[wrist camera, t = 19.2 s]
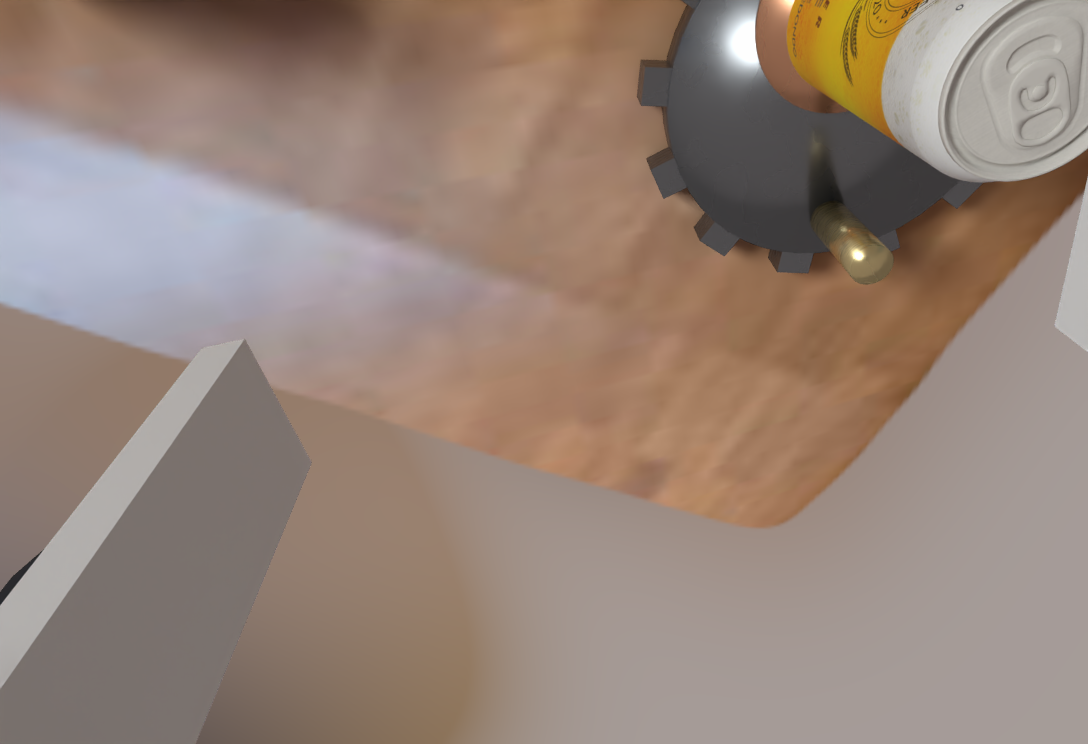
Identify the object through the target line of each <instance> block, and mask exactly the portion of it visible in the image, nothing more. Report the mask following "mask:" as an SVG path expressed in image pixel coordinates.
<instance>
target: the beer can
mask: <svg viewBox="0 0 1088 744" xmlns="http://www.w3.org/2000/svg"><path fill="white" fill-rule="evenodd" d="M786 38H787V48H788V53H789V57H790V60H791V62H792V64H793V66H794V68H795V70H796V71H797V73H798V74H799V75H800V76H801V78H802V79H804V80H805V81H806V82H807V83H808V84H810V85H811V86H813V87H814V88H816V89H817V90H819V91H820V92H822V93H823V94H825V95H826V96H828V97H829V98H831V99H832V100H834V101H835V102H837V103H838V104H840V105H841V106H843V107H844V108H846V109H847V110H849V111H850V112H852V113H853V114H855V115H856V116H858V117H859V118H861V119H862V120H864V121H865V122H867V123H868V124H870V125H871V126H873V127H874V128H876V129H877V130H879V131H880V132H882V133H883V134H885V135H886V136H888V137H889V138H891V139H892V140H894V141H895V142H897V143H898V144H900V145H901V146H903V147H904V148H906V149H907V150H909V151H910V152H912V153H913V154H915V155H916V156H918V157H919V158H921V159H922V160H924V161H925V162H927V163H928V164H930V165H931V166H933V167H934V168H936V169H937V170H939V171H940V172H942V173H943V174H946V175H948V176H950V177H952V178H955V179H959V180H963V181H968V182H995V181H1005V182H1007V181H1019V180H1025V179H1029V178H1033V177H1037V176H1040V175H1042V174H1045V173H1048V172H1050V171H1052V170H1055V169H1057V168H1059V167H1061V166H1063V165H1064V164H1066V163H1068V162H1070V161H1071V160H1073V159H1074V158H1076V157H1077V156H1079V155H1080V154H1082V153H1083V152H1084V151H1086V150H1087V149H1088V0H794V3H793V5H792V8H791V11H790V15H789V18H788V24H787V34H786Z"/></svg>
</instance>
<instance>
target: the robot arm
mask: <svg viewBox="0 0 1088 744" xmlns="http://www.w3.org/2000/svg"><path fill="white" fill-rule="evenodd" d="M1055 327H1056V328H1057V329H1059V330H1060V331H1061V332H1062V333H1064V334H1065V335H1066V336H1068V337H1069V338H1070V339H1072V340H1073V341H1074V342H1075V343H1077V344H1078V345H1079V346H1081V347H1082V348H1083V349H1084V350H1086V351H1087V352H1088V178H1087V183H1086V187H1085V192H1084V196H1083V201H1082V206H1081V210H1080V214H1079V218H1078V223H1077V227H1076V232H1075V236H1074V241H1073V245H1072V250H1071V255H1070V259H1069V263H1068V268H1067V272H1066V277H1065V281H1064V286H1063V290H1062V295H1061V299H1060V303H1059V308H1058V312H1057V317H1056V321H1055ZM311 463H312V462H311V460H310V458H309V457H308V455H307V453H306V451H305V449H304V447H303V445H302V443H301V442H300V440H299V438H298V436H297V434H296V433H295V431H294V429H293V427H292V425H291V423H290V422H289V420H288V418H287V416H286V414H285V412H284V410H283V409H282V407H281V405H280V403H279V401H278V399H277V398H276V396H275V394H274V392H273V390H272V388H271V386H270V385H269V383H268V381H267V379H266V377H265V375H264V374H263V372H262V370H261V368H260V366H259V364H258V362H257V361H256V359H255V357H254V355H253V353H252V351H251V350H250V348H249V346H248V344H247V342H246V340H245V339H243V340H238V341H233V342H228V343H223V344H218V345H214V346H209V347H204V348H202V349H201V350H200V351H199V353H198V354H197V355H196V356H195V358H194V359H193V360H192V361H191V363H190V364H189V365H188V367H187V368H186V369H185V370H184V372H183V373H182V374H181V375H180V377H179V378H178V379H177V381H176V382H175V383H174V384H173V386H172V387H171V388H170V390H169V391H168V392H167V393H166V395H165V396H164V397H163V399H162V400H161V401H160V402H159V404H158V405H157V406H156V407H155V409H154V410H153V411H152V412H151V414H150V415H149V416H148V418H147V419H146V420H145V422H144V423H143V424H142V425H141V426H140V428H139V429H138V430H137V432H136V433H135V434H134V436H133V437H132V438H131V439H130V441H129V442H128V443H127V444H126V446H125V447H124V448H123V450H122V451H121V452H120V453H119V455H118V456H117V457H116V459H115V460H114V461H113V462H112V464H111V465H110V466H109V468H108V469H107V470H106V471H105V472H104V474H103V475H102V476H101V478H100V479H99V480H98V481H97V483H96V484H95V485H94V486H93V488H92V489H91V490H90V492H89V493H88V494H87V495H86V497H85V498H84V499H83V500H82V502H81V503H80V505H79V506H78V507H77V508H76V509H75V511H74V512H73V513H72V514H71V516H70V517H69V518H68V520H67V521H66V522H65V524H64V525H63V526H62V527H61V529H60V530H59V531H58V532H57V534H56V535H55V536H54V538H53V539H52V540H51V541H50V543H49V544H48V545H47V547H46V548H45V549H44V550H43V551H41V552H40V553H39V554H38V555H37V556H36V557H34V558H33V559H32V560H31V561H30V562H29V563H28V564H27V565H25V566H24V567H23V568H22V569H21V570H19V571H18V572H17V573H16V574H15V575H14V576H13V577H12V578H11V579H10V580H9V582H8V583H7V584H6V585H5V587H4V588H3V589H2V590H1V592H0V744H196V741H197V739H198V736H199V734H200V731H201V729H202V727H203V724H204V722H205V719H206V717H207V714H208V712H209V710H210V707H211V705H212V703H213V700H214V697H215V695H216V693H217V690H218V688H219V685H220V683H221V681H222V678H223V676H224V674H225V671H226V669H227V666H228V664H229V661H230V659H231V657H232V654H233V652H234V649H235V647H236V645H237V642H238V639H239V637H240V635H241V632H242V630H243V627H244V625H245V623H246V620H247V618H248V615H249V613H250V611H251V608H252V606H253V604H254V601H255V599H256V596H257V594H258V591H259V589H260V586H261V584H262V582H263V579H264V577H265V575H266V572H267V570H268V567H269V565H270V562H271V560H272V557H273V555H274V553H275V550H276V548H277V545H278V543H279V541H280V538H281V536H282V533H283V531H284V528H285V526H286V524H287V521H288V519H289V517H290V514H291V512H292V509H293V507H294V504H295V502H296V500H297V497H298V495H299V492H300V490H301V488H302V485H303V483H304V480H305V478H306V475H307V473H308V471H309V468H310V466H311Z"/></svg>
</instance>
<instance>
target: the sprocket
mask: <svg viewBox="0 0 1088 744" xmlns="http://www.w3.org/2000/svg"><path fill="white" fill-rule="evenodd" d="M681 1H683V2H684V3H685V4H687V6H686V8H685V10H684V12H683V14H682V16H681V19H680V21H679V23H678V26H677V28H676V30H675V33H674V36H673V39H672V42H671V46H670V49H669V52H668V55H667V61H660V60H641V62H640V72H639V82H638V91H637V98H638V100H639V102H640V104H641V106H662V111H663V124H664V129H665V134H666V139H667V143H668V146H669V147H668V148H666V149H664V150H662V151H660V152H658V153H656V154H654V155H652V156H650V157H648V158H646V159H647V162H648V164H649V167H650V170H651V172H652V174H653V176H654V178H655V181H656V183H657V185H658V187H659V190H660V192H661V194H662V196H663V198H666V197H668V196H670V195H672V194H675V193H677V192H679V191H681V190H683V189H685V188H688V190H689V192H690V193H691V195H692V196H693V198H694V199H695V200H696V202H697V203H698V205H699V206H700V207H701V208H702V209H703V210H704V211H705V213H704V215H703V216H702V217H701V219H700V220H699V221H698V222H697V224H696V225H695V226H694V229H695V231H696V233H697V236H698V238H699V240H700V241H701V242H703V243H704V244H706V245H707V246H709V247H710V248H712V249H714V250H715V251H717V252H718V253H720V254H721V255H723V256H725V255H726V254H727V253H728V252H729V250H730V249H731V248H732V247H733V246H734V245H735V243H736V242H737V241H738V240H739V239H742V240H744V241H746V242H749V243H752V244H754V245H757V246H760V247H763V248H767V249H770V252H769V256H768V258H769V260H770V261H771V263H772V265H773V266H774V268H775V269H776V271H777V272H788V273H808V272H809V268H810V265H811V261H812V257H813V254H814V253H821V252H828V251H830V252H831V253H832V254H833V255H834V256H835V258H836V259H837V260H838V261H839V263H840V264H841V265H842V266H843V267H844V269H845V270H846V271H847V272H848V273H849V275H850V276H851V277H852V278H853V279H854V280H855V281H856V282H858V283H860V284H873V283H876V282H878V281H880V280H882V279H883V278H885V277H886V276H887V275H888V274H889V272H890V271H891V269H892V267H893V263H894V258H893V254H892V253H891V251H893V250H896V249H898V248H900V245H899V241H898V237H897V234H896V230H895V229H897V228H899V227H901V226H903V225H904V224H906V223H907V222H909V221H911V220H912V219H914V218H915V217H917V216H919V215H920V214H921V213H923V212H924V211H925V210H927V209H928V208H929V207H931V206H932V205H933V204H935V203H936V202H937V201H938V200H940V199H941V198H943V199H944V200H945V201H947V202H948V203H950V204H951V205H952V206H954V207H955V208H956V209H957V208H958V207H959V206H960V205H961V204H962V203H963V202H964V201H965V200H966V199H967V198H968V197H969V196H970V195H971V194H972V193H973V192H974V191H975V190H976V189H977V188H978V187H979V186H980V185H981V184H982V183H983V182H968V181H963V180H959V179H955V178H952V177H950V176H948V175H946V174H943V173H942V172H940V171H939V170H937V169H936V168H934V167H933V166H931V165H930V164H928V163H927V162H925V161H924V160H922V159H921V158H919V157H918V156H916V155H915V154H913V153H912V152H910V151H909V150H907V149H906V148H904V147H903V146H901V145H900V144H898V143H897V142H895V141H894V140H892V139H891V138H889V137H888V136H886V135H885V134H883V133H882V132H880V131H879V130H877V129H876V128H874V127H873V126H871V125H870V124H868V123H867V122H865V121H864V120H862V119H861V118H859V117H858V116H856V115H855V114H853V113H852V112H850V111H849V110H847V109H846V108H844V107H843V106H841V105H840V104H838V103H837V102H835V101H834V100H832V99H831V98H829V97H828V96H826V95H825V94H823V93H822V92H820V91H819V90H817V89H816V88H814V87H813V86H811V85H810V84H808V83H807V82H806V81H805V80H804V79H802V78H801V76H800V75H799V74H798V73H797V71H796V70H795V68H794V66H793V64H792V62H791V60H790V57H789V53H788V48H787V38H786V34H787V24H788V18H789V15H790V11H791V8H792V5H793V3H794V0H681Z"/></svg>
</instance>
